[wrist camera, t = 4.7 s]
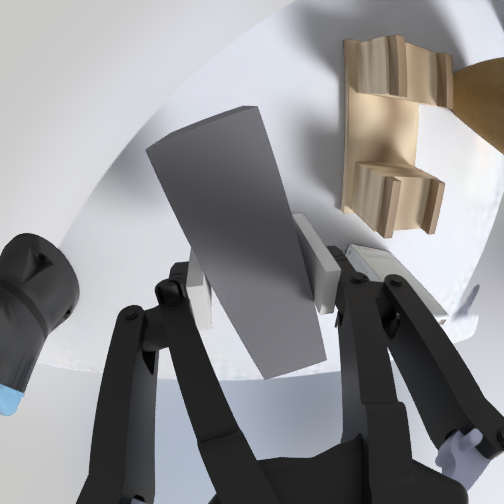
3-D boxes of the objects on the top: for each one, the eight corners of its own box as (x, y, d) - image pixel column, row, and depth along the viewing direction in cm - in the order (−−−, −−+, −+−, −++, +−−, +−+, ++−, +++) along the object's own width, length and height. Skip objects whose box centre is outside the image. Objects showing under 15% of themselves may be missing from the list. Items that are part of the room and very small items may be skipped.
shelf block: (340, 210, 33) (372, 244, 25) (343, 40, 22) (382, 25, 14) (403, 207, 33) (441, 237, 26) (413, 57, 22) (459, 55, 15)
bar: (254, 321, 23) (264, 379, 18) (170, 133, 14) (145, 149, 9) (304, 304, 22) (326, 360, 17) (243, 105, 14) (257, 106, 9)
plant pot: (415, 110, 26) (515, 137, 13) (442, 30, 20) (531, 29, 6) (471, 162, 30) (548, 204, 17) (495, 90, 24) (570, 113, 10)
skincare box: (333, 276, 38) (376, 357, 25) (350, 240, 35) (407, 315, 22) (377, 283, 40) (424, 353, 27) (394, 250, 37) (452, 317, 24)
